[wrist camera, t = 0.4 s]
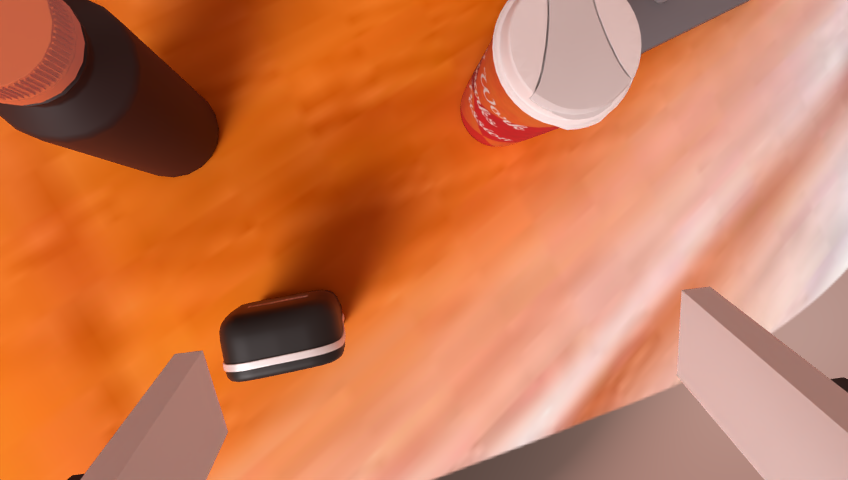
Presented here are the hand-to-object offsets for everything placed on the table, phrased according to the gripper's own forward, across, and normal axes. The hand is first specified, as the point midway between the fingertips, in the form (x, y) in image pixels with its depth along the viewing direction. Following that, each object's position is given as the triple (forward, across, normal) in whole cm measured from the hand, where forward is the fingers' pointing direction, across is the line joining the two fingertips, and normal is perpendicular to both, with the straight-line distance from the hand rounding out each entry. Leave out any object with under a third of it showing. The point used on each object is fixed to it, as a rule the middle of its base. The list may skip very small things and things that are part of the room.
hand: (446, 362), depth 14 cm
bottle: (+27, -18, +5) cm, 33 cm away
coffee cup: (+30, +7, +3) cm, 31 cm away
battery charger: (+24, -11, -9) cm, 28 cm away
